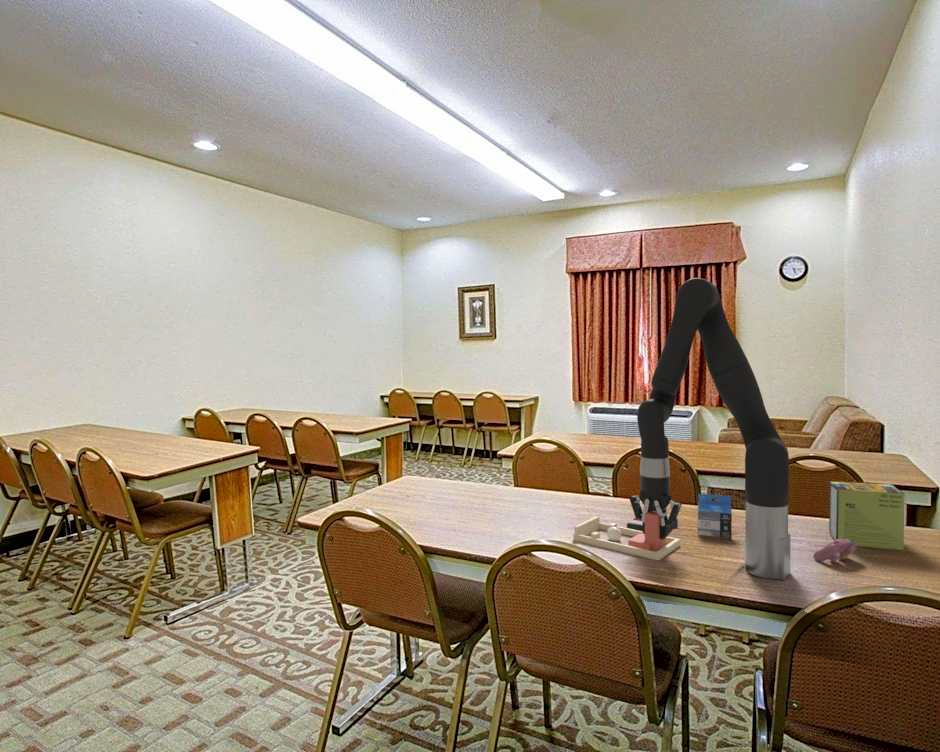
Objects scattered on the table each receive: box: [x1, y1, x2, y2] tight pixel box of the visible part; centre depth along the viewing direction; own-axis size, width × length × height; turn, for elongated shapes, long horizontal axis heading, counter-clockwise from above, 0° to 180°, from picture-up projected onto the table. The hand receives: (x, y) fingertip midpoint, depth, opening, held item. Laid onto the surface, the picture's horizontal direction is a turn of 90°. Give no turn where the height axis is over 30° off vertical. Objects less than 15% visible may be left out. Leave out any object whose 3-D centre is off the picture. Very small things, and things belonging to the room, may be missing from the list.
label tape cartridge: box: [697, 493, 733, 541], centre depth 164 cm, size 9×4×12 cm, turn 68°
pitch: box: [572, 515, 681, 561], centre depth 159 cm, size 25×14×5 cm, turn 48°
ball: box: [606, 527, 622, 542], centre depth 161 cm, size 4×4×4 cm
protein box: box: [828, 481, 906, 551], centre depth 159 cm, size 10×15×16 cm
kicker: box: [627, 511, 666, 552], centre depth 154 cm, size 8×7×10 cm
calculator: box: [626, 515, 679, 533], centre depth 172 cm, size 11×4×15 cm
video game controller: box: [813, 539, 858, 563], centre depth 146 cm, size 10×5×7 cm, turn 114°
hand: (655, 536), depth 153 cm, fingers open, 3 cm apart
